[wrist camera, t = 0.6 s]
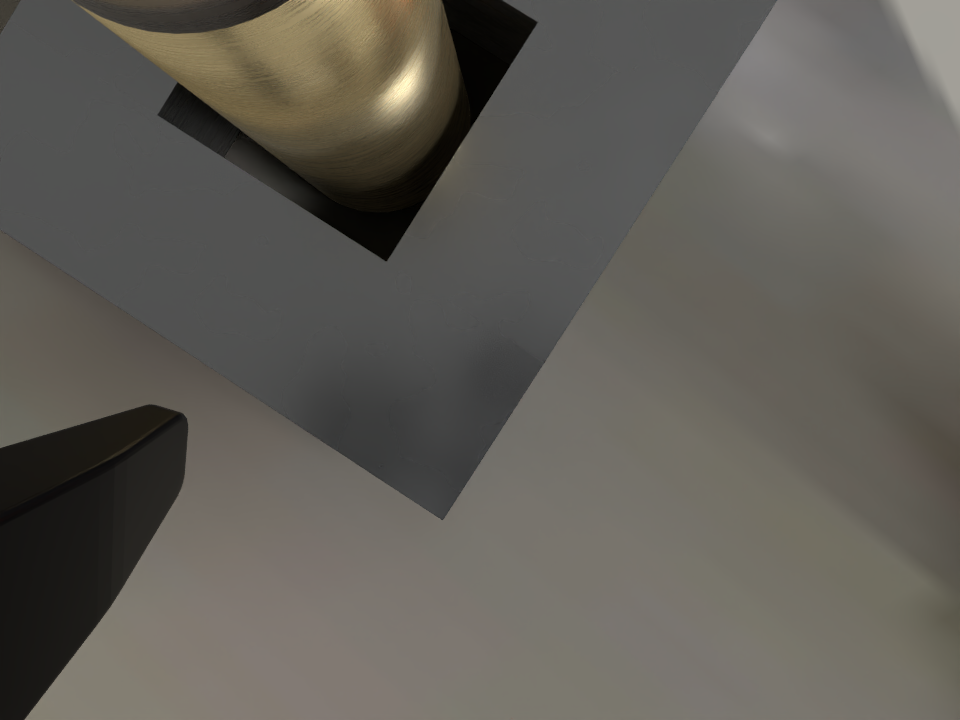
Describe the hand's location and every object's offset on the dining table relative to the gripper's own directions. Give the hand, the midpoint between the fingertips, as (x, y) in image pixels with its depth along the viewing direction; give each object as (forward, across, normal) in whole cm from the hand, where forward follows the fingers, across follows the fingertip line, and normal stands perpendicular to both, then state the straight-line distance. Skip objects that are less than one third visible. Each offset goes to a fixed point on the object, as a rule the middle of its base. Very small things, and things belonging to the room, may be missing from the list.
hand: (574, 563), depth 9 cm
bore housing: (+15, +7, 0) cm, 16 cm away
